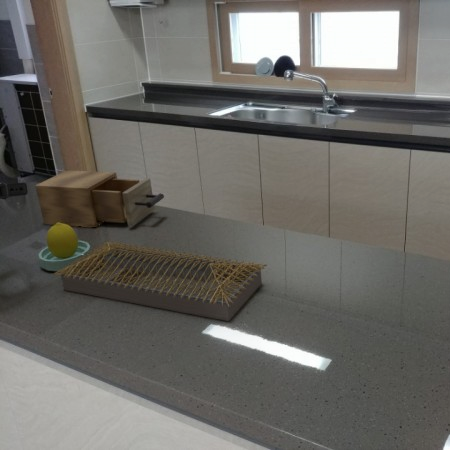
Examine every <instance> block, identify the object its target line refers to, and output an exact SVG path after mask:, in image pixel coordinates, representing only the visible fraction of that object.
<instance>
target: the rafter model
mask: <svg viewBox="0 0 450 450" xmlns="http://www.w3.org/2000/svg"><path fill="white" fill-rule="evenodd" d="M89 253H92V254H89ZM89 253H87V254H88V255H90V256H88V255H85V256H88V257H85V256H81V259H77V260H81V261H77V260H75V261H77V262H78V263H77V262H74V263H75V264H74V263H70V266H66V267H67V268H66V267H63V268H64V269H61V270H59V271H55V272H54V273H52V276H56V275H57V277H59V276H60V278H61V281H62V287H63V291H69V292H74V293H80V294H84V295H90V296H94V297H100V298H104V299H111V300H116V301H121V302H126V303H132V304H137V305H141V306H146V307H152V308H157V309H162V310H167V311H173V312H178V313H184V314H189V315H195V316H199V317H205V318H209V319H213V320H214V319H215V320H219V321H226V322H230V321H231V320H232V318H233V317H234V316H235V315H236V314H237V313H238V311H239V310H240V309H241V308H242V307H243V305H245V303H247V301H248V300H249V299H250V297H252V295H253V294H254V293H255V292H256V291H257V290H258V289H259V288H260V286H261V285H262V284H263V281H262V280H263V279H262V270H264V269H265V267H267V266H268V264H266V263H265V264H262V263H255V262H254V261H253V262H251V261H248V262H245V261H244V260H242V261H238V260H237V259H236V260H232V259H231V258H229V259H225V258H224V257H222V258H218V257H212V255H209V256H205V254H203V255H199V254H198V253H197V254H193V253H186V252H180V251H174V250H168V249H163V250H162V248H157V249H156V248H155V247H151V248H150V247H149V246H147V247H144V246H143V245H142V246H138V245H132V244H127V243H122V242H113V241H109V242H108V241H106V242H104V243H102V245H101V244H100V245H99V246H97V248H93V249H91V252H89ZM73 264H74V265H73ZM100 266H101V267H100ZM107 267H108V268H107ZM104 269H105V271H103V270H104ZM113 269H114V270H113ZM63 270H64V271H63ZM101 271H102V272H101ZM109 271H111V272H109ZM88 274H89V275H88ZM146 274H148V275H146ZM152 275H155V276H152ZM159 276H161V277H160V278H159ZM141 277H142V278H141ZM149 277H150V279H148V278H149ZM166 277H168V278H167V279H166ZM156 278H157V280H155V279H156ZM163 278H164V281H162V279H163ZM173 278H175V279H174V280H173ZM180 279H182V280H181V281H180ZM223 279H224V280H223ZM170 280H171V282H169V281H170ZM187 280H188V281H189V282H187ZM210 280H211V281H210ZM222 280H223V281H222ZM161 281H162V282H161ZM177 281H178V283H177V284H176V282H177ZM184 281H185V282H184ZM209 281H210V282H209ZM168 282H169V283H168ZM194 282H196V283H194ZM183 283H185V284H184V285H183ZM202 283H203V284H202ZM231 283H232V284H231ZM191 284H192V285H191ZM201 284H202V285H201ZM208 284H210V286H208ZM190 285H191V286H190ZM198 285H199V287H198ZM145 286H146V287H145ZM154 286H155V287H154ZM189 286H190V287H189ZM205 286H206V288H205ZM213 286H214V288H213ZM152 287H154V288H152ZM161 287H162V288H161ZM169 287H170V288H169ZM160 288H161V289H160ZM168 288H169V289H168ZM204 288H205V289H204ZM212 288H213V289H212ZM167 289H168V290H167ZM175 289H177V290H176V291H175ZM183 290H184V291H183ZM191 290H192V291H191ZM174 291H175V292H174ZM182 291H183V292H182ZM190 291H191V293H190V294H188V293H189V292H190ZM180 292H182V293H180ZM197 293H198V294H197ZM205 293H206V294H205ZM196 294H197V295H196ZM204 294H205V296H204V297H202V296H203V295H204ZM212 294H213V295H212ZM211 295H212V297H211V298H209V297H210V296H211ZM220 299H221V300H220Z"/></svg>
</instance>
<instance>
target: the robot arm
mask: <svg viewBox="0 0 450 450" xmlns="http://www.w3.org/2000/svg"><path fill="white" fill-rule="evenodd" d="M28 193H29V191H28V185H27V183H26V182H25V181H24V182H13V183H12V182H11V183H4V182H0V200H7V199H9V198H12V197H20V196H21V197H22V196H27V195H28Z"/></svg>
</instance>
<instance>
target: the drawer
mask: <svg viewBox="0 0 450 450" xmlns="http://www.w3.org/2000/svg"><path fill="white" fill-rule="evenodd" d="M151 181H152V180H151V178H148V177H146V178H144V179H142V180H140V179H132V178H117V179H113V178H111V179H110V180H108V181H106V182H104V183H103V184H101V185H99V186H97V187H95V188H94V189H92V190H90V191H91V196H92V201H93V206H94V211H95V216H96V221H105V222H106V223H120V224H124V223H126V222H127V226H128V227H133V226H134V225H136V224H137V223H139V222H140V221H141V220H143V219H144V218H145V217H146V216H148V215H149V214H150V213H152V212H153V211H154V210H155V209H156V208H155V205H156V204H158V203H159V202H160V201H162V200H163V199H164V198H165V195H164V194H163V193H162V192H159V193H158V194H153V187H152V182H151ZM105 222H104V223H105Z"/></svg>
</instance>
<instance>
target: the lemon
mask: <svg viewBox="0 0 450 450" xmlns="http://www.w3.org/2000/svg"><path fill="white" fill-rule="evenodd" d="M78 240H79V239H78V236H77V234H76V231H75V230H74V227H73V226H69V225H67V224H62V223H60V222H58V223H56V225H51V227H50V228H49V230H47V234H46V245H47V246H46V247H48V248H49V250H50V252H51V253H52V254H53V255H54V256H55V257H57V258H63V259H67V258H70V257H71V256H72V255H74V254H75V252H76V251H77V248H78Z"/></svg>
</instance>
